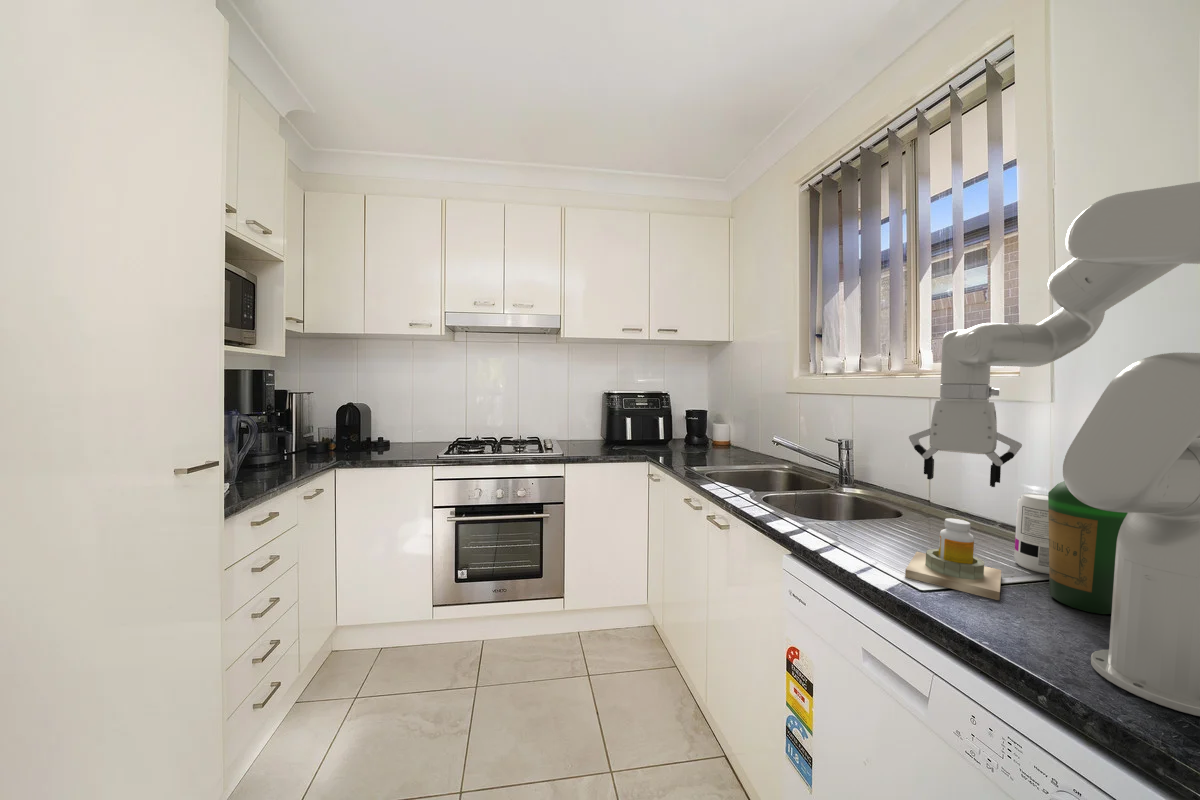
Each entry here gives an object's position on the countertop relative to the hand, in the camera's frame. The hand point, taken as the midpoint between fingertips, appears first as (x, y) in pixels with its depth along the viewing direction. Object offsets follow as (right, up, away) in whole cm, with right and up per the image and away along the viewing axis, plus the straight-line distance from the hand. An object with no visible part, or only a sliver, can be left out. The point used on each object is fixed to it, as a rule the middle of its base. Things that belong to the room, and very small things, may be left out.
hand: (960, 482), depth 91 cm
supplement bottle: (0, -18, +1) cm, 18 cm away
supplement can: (+22, -20, +7) cm, 31 cm away
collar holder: (-1, -19, +1) cm, 19 cm away
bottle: (+14, -20, -9) cm, 26 cm away
